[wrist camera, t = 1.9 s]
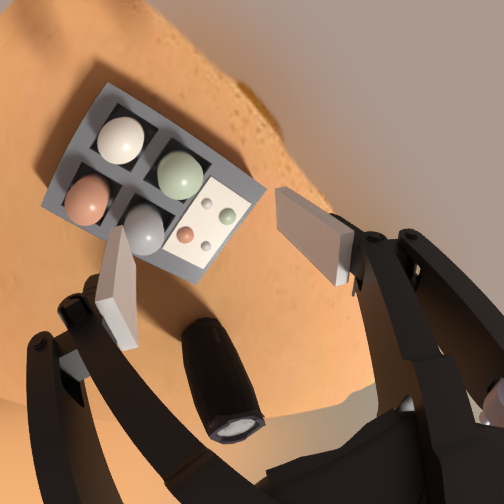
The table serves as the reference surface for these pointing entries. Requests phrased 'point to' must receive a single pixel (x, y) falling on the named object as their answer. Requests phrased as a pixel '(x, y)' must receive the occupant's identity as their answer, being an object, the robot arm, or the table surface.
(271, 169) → the table surface
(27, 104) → the table surface
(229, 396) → the portable speaker
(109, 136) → the button ivory
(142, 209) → the button grey
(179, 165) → the button sage
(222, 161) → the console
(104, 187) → the button terracotta
